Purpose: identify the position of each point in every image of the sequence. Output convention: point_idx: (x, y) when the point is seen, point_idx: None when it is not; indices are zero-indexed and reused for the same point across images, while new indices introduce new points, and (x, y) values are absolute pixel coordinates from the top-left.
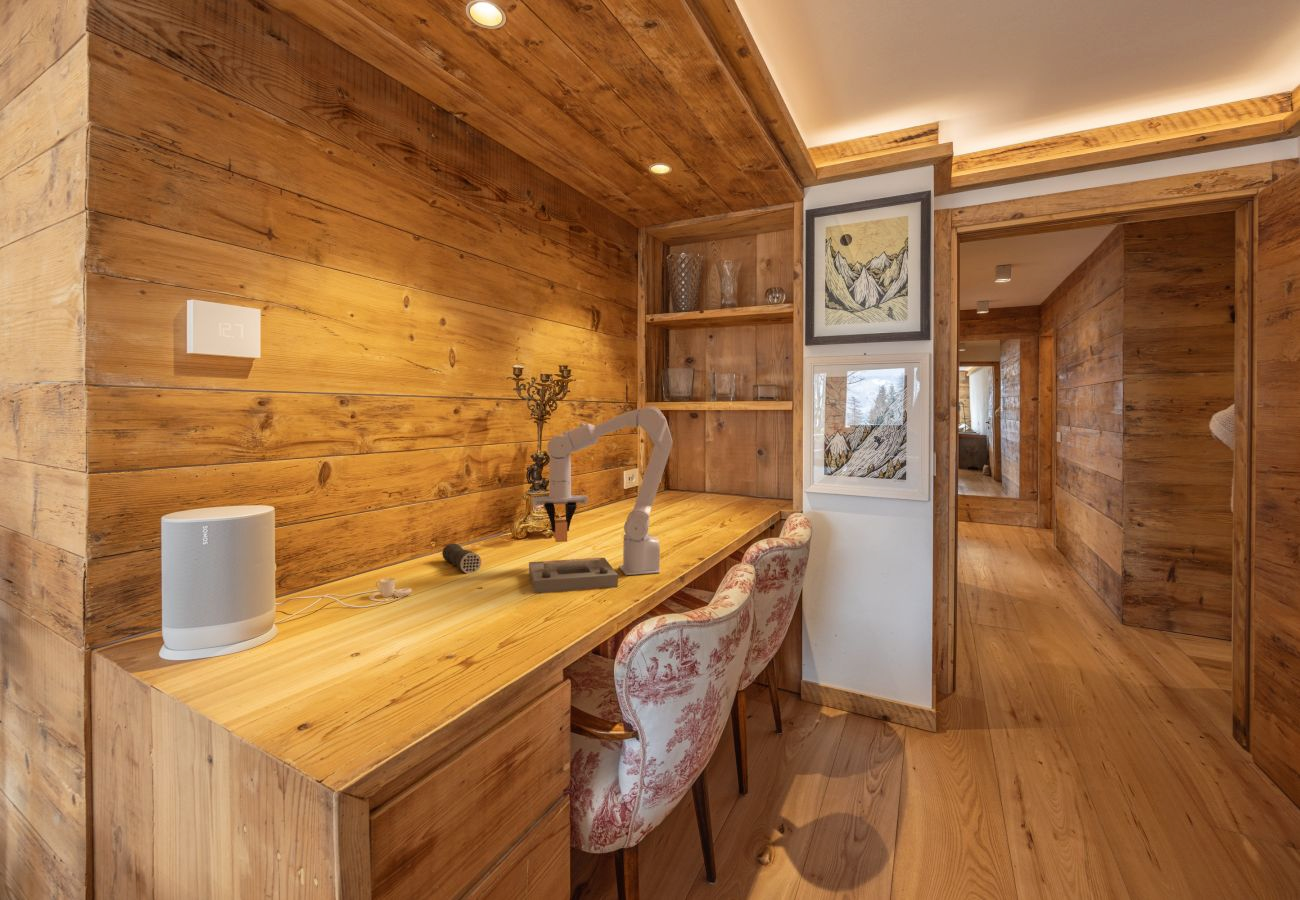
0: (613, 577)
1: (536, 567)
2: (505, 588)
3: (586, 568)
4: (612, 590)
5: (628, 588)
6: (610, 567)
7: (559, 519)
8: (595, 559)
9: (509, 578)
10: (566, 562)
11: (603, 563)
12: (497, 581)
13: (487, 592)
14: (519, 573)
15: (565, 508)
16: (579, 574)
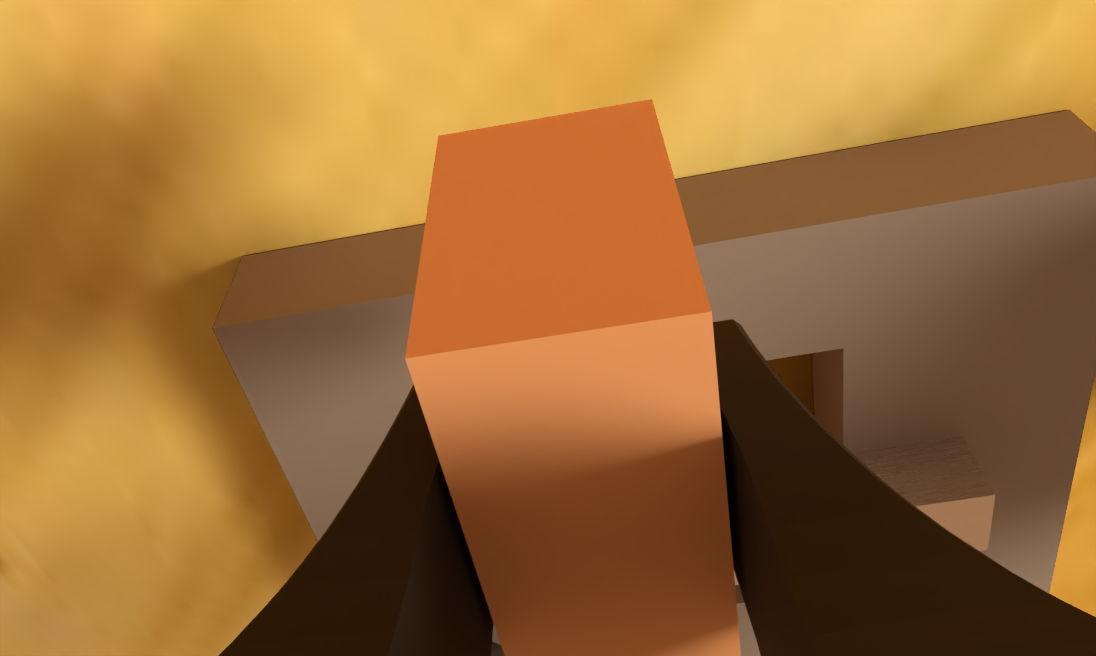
0: None
1: (346, 480)
2: (176, 566)
3: (834, 412)
4: None
5: (1062, 578)
6: (1053, 493)
7: (577, 422)
8: None
9: (104, 377)
10: None
11: (1034, 384)
12: (34, 441)
13: (83, 620)
14: (138, 245)
15: (806, 641)
16: (740, 625)
